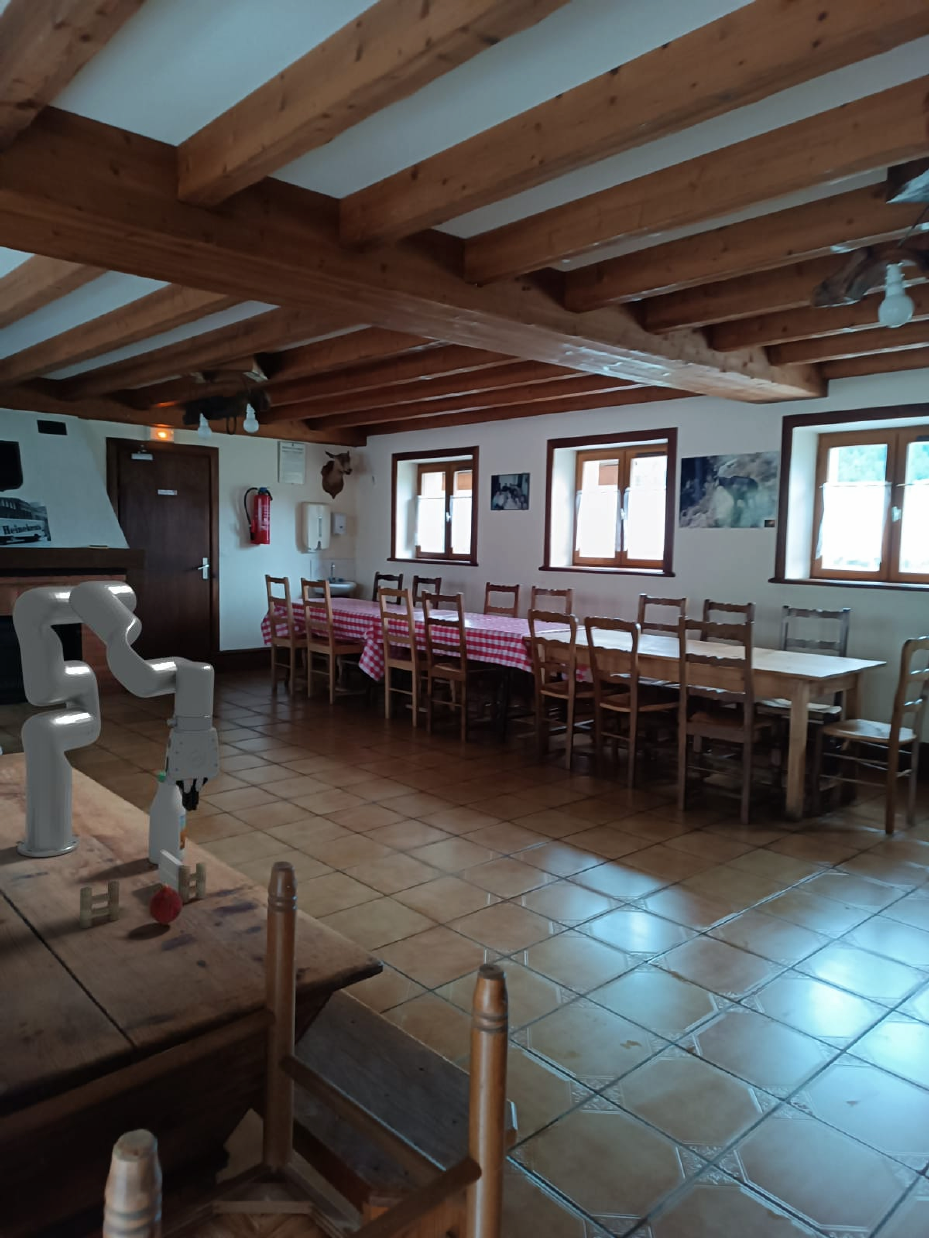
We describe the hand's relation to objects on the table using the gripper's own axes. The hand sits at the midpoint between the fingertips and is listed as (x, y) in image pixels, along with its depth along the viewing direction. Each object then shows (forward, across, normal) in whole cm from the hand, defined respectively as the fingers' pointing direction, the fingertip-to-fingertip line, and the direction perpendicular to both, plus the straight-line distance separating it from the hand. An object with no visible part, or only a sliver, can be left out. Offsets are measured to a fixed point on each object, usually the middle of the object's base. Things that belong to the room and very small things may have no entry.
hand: (190, 808), depth 177 cm
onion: (+17, -10, -15) cm, 25 cm away
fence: (+17, -11, -8) cm, 21 cm away
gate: (+16, -4, -1) cm, 16 cm away
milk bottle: (+17, +1, +16) cm, 24 cm away
